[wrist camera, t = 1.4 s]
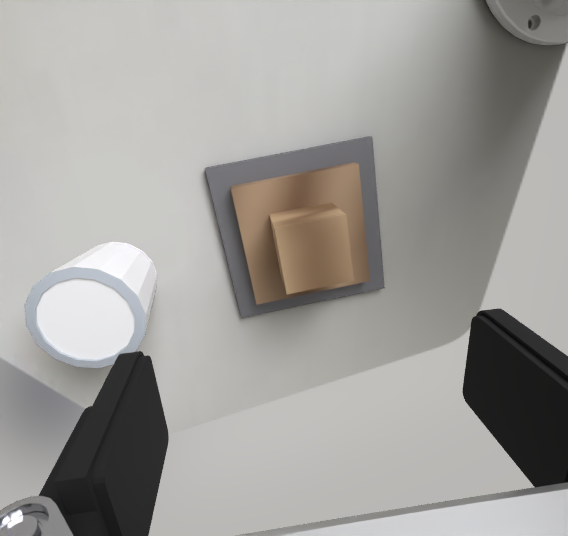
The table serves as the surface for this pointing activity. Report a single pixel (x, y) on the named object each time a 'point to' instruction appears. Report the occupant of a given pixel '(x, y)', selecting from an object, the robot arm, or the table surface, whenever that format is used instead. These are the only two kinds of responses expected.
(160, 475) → the robot arm
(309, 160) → the mat
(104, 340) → the white round container
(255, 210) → the lid
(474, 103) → the table surface
